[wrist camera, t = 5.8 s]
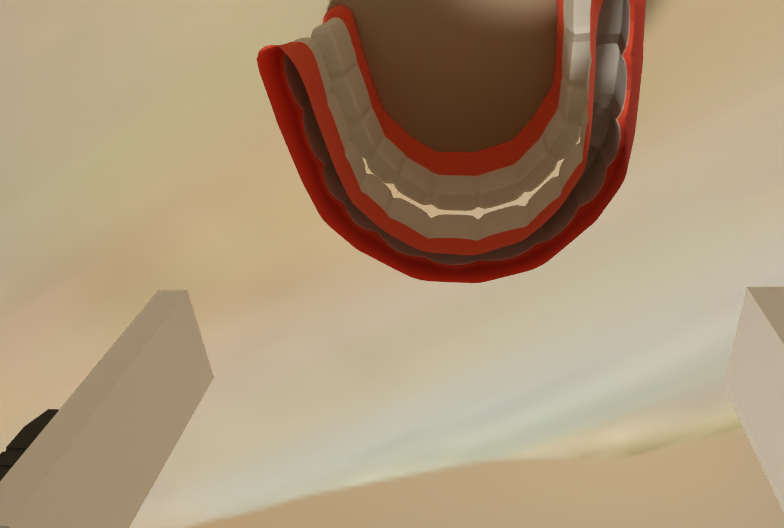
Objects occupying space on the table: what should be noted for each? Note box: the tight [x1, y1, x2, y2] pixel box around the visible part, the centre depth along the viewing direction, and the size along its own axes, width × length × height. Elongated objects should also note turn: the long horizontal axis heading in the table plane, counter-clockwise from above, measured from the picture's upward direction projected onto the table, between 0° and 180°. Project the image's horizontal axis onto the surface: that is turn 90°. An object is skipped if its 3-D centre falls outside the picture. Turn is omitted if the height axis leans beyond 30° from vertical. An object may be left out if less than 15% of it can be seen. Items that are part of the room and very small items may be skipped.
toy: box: [257, 0, 645, 283], centre depth 25 cm, size 12×10×8 cm
